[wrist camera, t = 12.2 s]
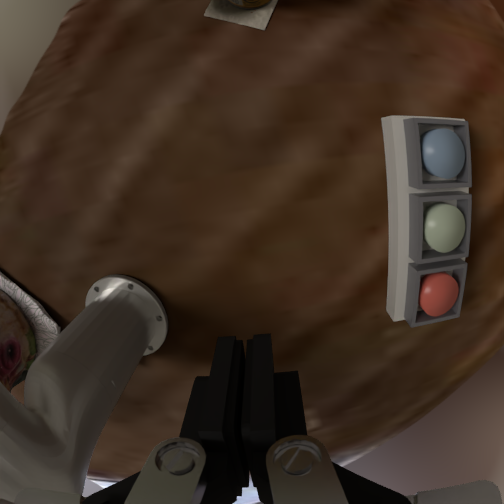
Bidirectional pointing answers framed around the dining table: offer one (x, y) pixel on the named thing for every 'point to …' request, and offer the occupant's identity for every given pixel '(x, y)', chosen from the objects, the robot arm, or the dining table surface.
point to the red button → (437, 293)
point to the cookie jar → (21, 332)
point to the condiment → (242, 11)
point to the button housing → (421, 215)
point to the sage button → (443, 226)
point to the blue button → (442, 153)
